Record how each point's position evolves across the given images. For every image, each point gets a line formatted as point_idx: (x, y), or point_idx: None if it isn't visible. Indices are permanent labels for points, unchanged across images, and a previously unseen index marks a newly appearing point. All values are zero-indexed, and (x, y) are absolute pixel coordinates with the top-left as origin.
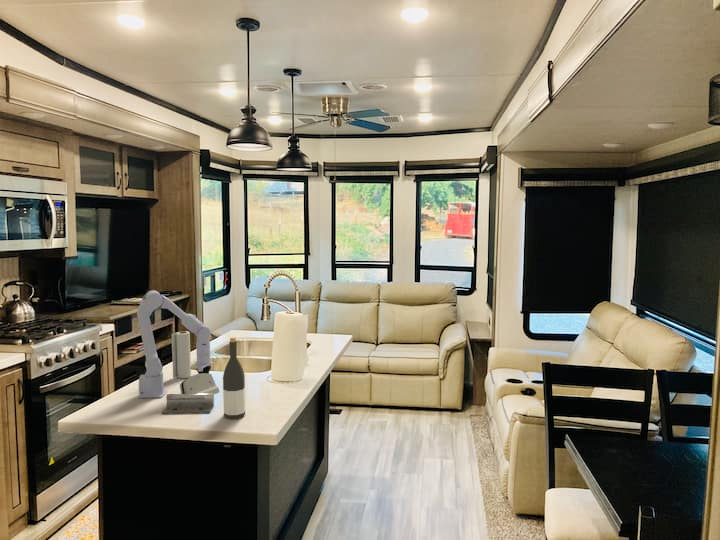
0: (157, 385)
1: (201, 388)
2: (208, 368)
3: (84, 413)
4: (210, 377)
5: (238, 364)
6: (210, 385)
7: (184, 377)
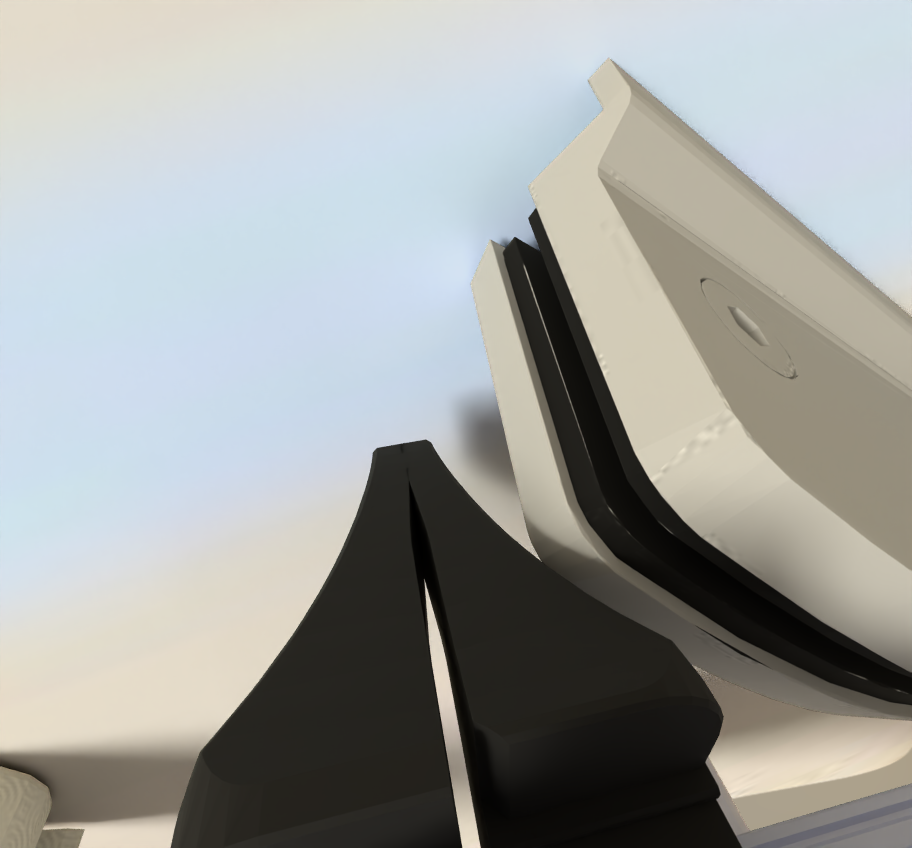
0: (723, 790)
1: (865, 381)
2: (587, 750)
3: (819, 772)
4: (756, 384)
5: None
6: (725, 278)
7: (22, 785)
